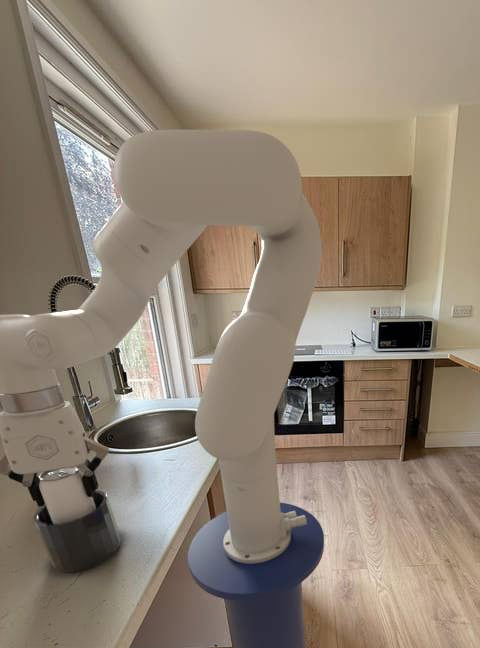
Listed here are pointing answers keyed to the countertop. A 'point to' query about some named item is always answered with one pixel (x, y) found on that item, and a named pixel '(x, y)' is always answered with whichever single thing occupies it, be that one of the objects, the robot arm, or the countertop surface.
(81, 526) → the open gray tub
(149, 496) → the countertop surface
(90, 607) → the countertop surface
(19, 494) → the countertop surface
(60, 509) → the can
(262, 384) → the robot arm
